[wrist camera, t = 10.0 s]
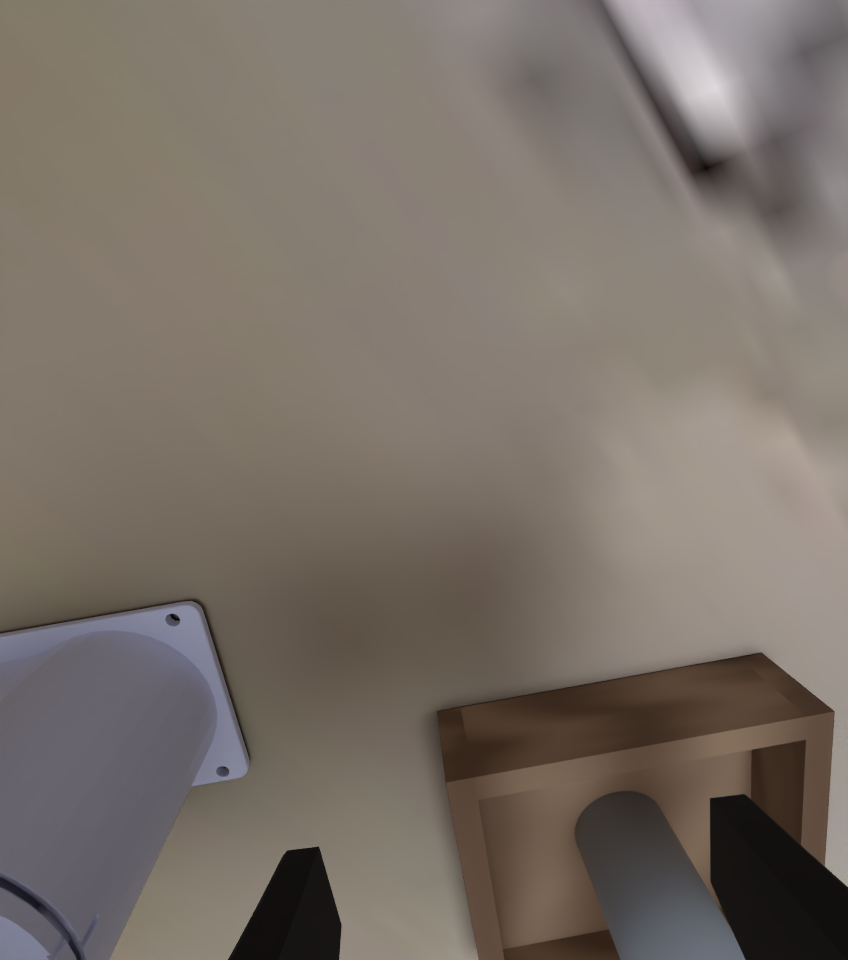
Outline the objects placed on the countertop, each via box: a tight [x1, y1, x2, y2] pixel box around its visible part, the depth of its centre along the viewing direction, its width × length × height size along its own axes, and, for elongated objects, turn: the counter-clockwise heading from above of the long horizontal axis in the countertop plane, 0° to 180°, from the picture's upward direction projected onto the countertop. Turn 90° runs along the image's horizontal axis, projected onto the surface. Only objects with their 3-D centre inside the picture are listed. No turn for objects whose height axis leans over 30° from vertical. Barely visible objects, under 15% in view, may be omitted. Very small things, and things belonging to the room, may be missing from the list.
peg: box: [575, 791, 746, 960], centre depth 18 cm, size 4×4×8 cm
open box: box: [437, 653, 835, 960], centre depth 20 cm, size 14×14×4 cm
